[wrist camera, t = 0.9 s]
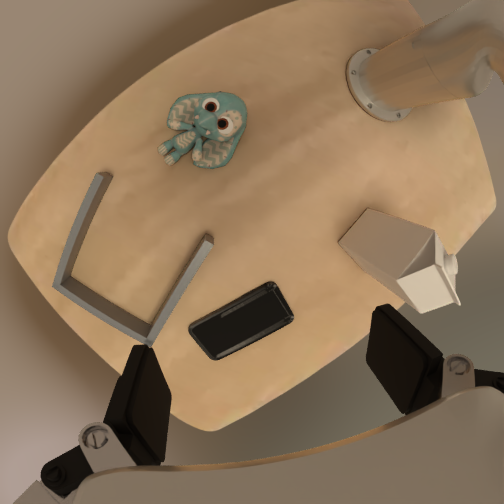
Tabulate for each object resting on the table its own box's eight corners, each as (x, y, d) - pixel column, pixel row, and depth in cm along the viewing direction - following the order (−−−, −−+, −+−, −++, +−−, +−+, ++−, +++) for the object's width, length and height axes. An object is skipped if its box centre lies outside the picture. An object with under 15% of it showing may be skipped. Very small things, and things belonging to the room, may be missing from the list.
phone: (296, 319, 41) (213, 362, 41) (294, 316, 42) (213, 358, 42) (274, 280, 38) (184, 328, 39) (272, 277, 39) (185, 324, 40)
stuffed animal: (126, 124, 26) (214, 59, 23) (149, 126, 32) (222, 74, 29) (176, 199, 29) (269, 137, 26) (191, 187, 36) (267, 138, 33)
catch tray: (106, 172, 31) (96, 172, 28) (213, 238, 36) (213, 245, 33) (62, 277, 34) (52, 286, 31) (154, 334, 39) (150, 347, 36)
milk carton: (363, 270, 41) (441, 330, 23) (336, 242, 39) (419, 296, 21) (390, 237, 40) (477, 280, 22) (366, 207, 38) (461, 239, 20)
